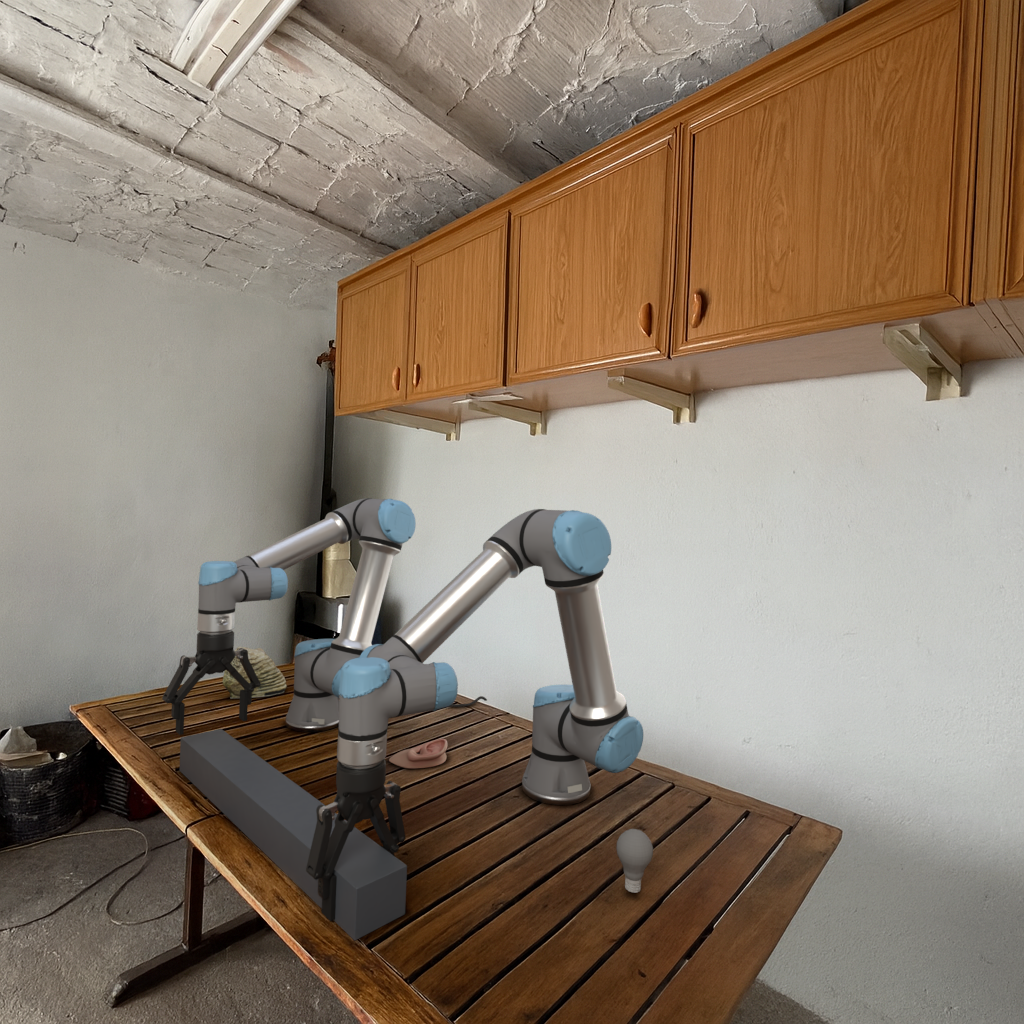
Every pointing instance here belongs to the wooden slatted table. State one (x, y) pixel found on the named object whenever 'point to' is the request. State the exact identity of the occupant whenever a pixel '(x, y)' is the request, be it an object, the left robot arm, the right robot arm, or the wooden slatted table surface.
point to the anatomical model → (422, 755)
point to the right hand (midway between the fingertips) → (356, 902)
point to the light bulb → (634, 857)
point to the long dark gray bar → (294, 830)
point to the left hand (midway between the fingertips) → (212, 726)
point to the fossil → (265, 672)
